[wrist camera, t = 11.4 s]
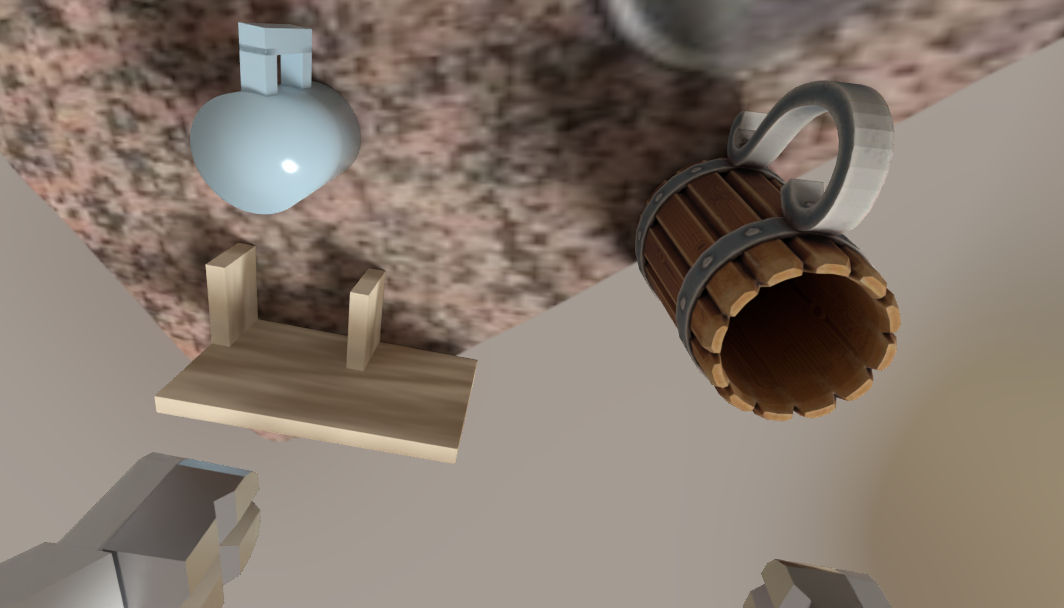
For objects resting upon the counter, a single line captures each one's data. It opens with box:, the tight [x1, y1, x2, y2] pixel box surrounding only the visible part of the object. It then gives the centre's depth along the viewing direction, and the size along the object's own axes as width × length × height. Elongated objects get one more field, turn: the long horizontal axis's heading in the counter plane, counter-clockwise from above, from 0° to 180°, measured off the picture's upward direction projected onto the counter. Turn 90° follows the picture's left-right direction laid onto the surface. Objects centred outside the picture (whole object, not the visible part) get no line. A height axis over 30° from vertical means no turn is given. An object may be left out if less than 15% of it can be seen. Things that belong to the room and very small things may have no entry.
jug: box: [190, 22, 361, 214], centre depth 30 cm, size 9×6×8 cm, turn 169°
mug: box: [635, 81, 901, 421], centre depth 29 cm, size 16×11×15 cm
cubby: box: [155, 243, 478, 464], centre depth 35 cm, size 7×18×10 cm, turn 79°
